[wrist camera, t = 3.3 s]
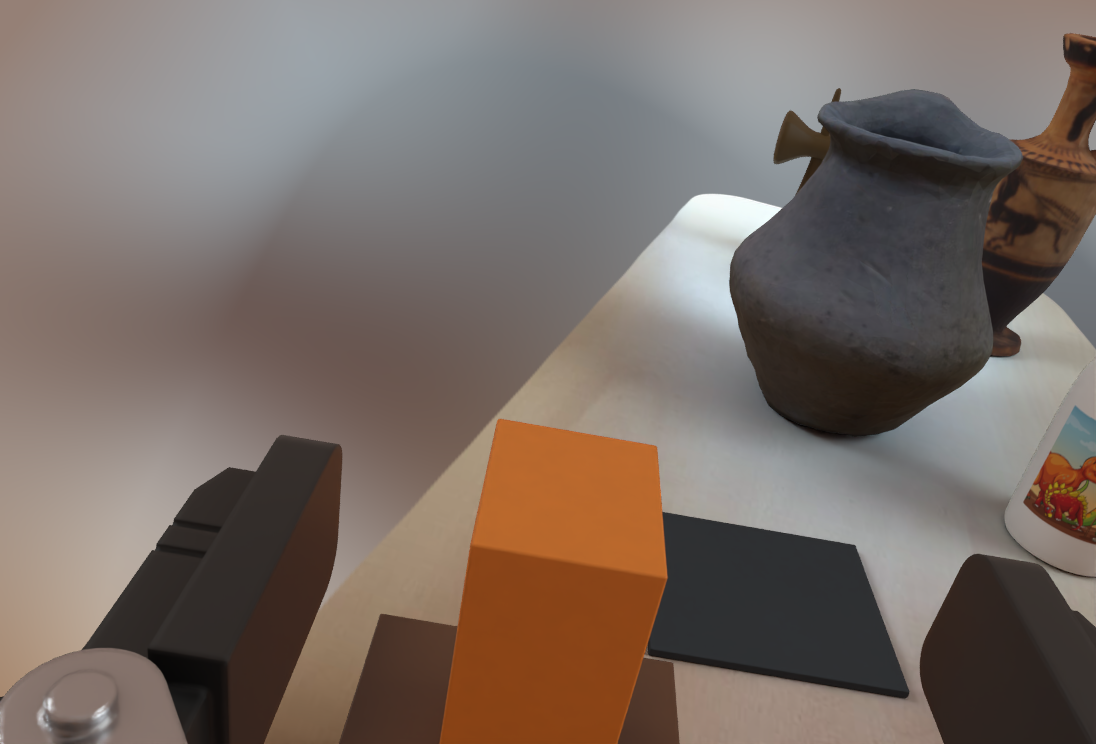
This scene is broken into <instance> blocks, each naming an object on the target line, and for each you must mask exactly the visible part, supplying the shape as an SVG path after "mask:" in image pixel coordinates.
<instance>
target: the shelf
mask: <svg viewBox="0 0 1096 744" xmlns="http://www.w3.org/2000/svg"><path fill="white" fill-rule="evenodd" d="M457 628H458V627H457V626H451V625H445V624H439V623H433V622H428V621H422V620H416V619H410V618H404V617H398V616H392V615H386V614H381V615H380V617H379V620H378V623H377V626H376V629H375V632H374V635H373V639H372V642H371V645H370V648H369V651H368V654H367V657H366V660H365V664H364V667H363V670H362V673H361V676H360V679H359V682H358V685H357V689H356V692H355V695H354V698H353V701H352V704H351V707H350V710H349V714H348V717H347V720H346V723H345V726H344V729H343V732H342V735H341V739H340V742H339V744H440V737H441V731H442V724H443V718H444V711H445V705H446V699H447V692H448V686H449V679H450V673H451V666H452V660H453V654H454V647H455V641H456V634H457ZM617 744H680V743H679V731H678V718H677V705H676V692H675V680H674V667H673V663H672V662H666V661H660V660H654V659H648V658H643V661H642V664H641V667H640V671H639V674H638V677H637V680H636V684H635V687H634V690H633V694H632V697H631V700H630V704H629V707H628V710H627V713H626V717H625V720H624V723H623V727H622V730H621V733H620V736H619V740H618V743H617Z"/></svg>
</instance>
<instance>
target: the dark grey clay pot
mask: <svg viewBox="0 0 1096 744" xmlns="http://www.w3.org/2000/svg"><path fill="white" fill-rule="evenodd" d="M818 121H819V122H820V123H821V124H822V125H823V127H824V128H825V129H826V130H827V131H828V132H829V133H830V147H829V150H828V152H827V154H826V156H825V158H824V160H823V162H822V164H821V165H820V166H819V167H818V169H817V170H816V171H815V172H814V174H813V175H812V176H811V177H810V178H809V180H808V181H807V182H806V183H805V184H804V186H803V187H802V188H801V189H800V191H799V192H798V193H797V194H796V195H795V197H794V198H793V199H792V200H791V201H790V202H789V203H788V204H787V205H786V206H785V207H784V208H782V209H781V210H780V211H779V212H778V213H777V214H776V215H774V216H773V217H772V218H771V219H770V220H769V221H768V222H766V223H765V224H764V225H762V226H761V227H760V228H758V229H757V230H756V231H755V232H753V233H752V234H751V235H749V236H748V237H747V238H746V239H745V240H744V241H743V242H742V243H741V245H740V246H739V247H738V248H737V250H736V251H735V253H734V256H733V259H732V261H731V264H730V280H729V284H730V293H731V298H732V301H733V305H734V308H735V311H736V314H737V318H738V325H739V329H740V332H741V335H742V338H743V340H744V343H745V347H746V351H747V356H748V358H749V359H750V361H751V363H752V365H753V367H754V369H755V372H756V376H757V380H758V382H759V386H760V388H761V390H762V393H763V395H764V397H765V399H766V401H767V403H768V405H769V406H770V407H771V408H772V409H774V410H775V411H776V412H777V413H779V414H780V415H782V416H783V417H785V418H787V419H789V420H792V421H794V422H796V423H798V424H801V425H804V426H808V427H811V428H814V429H818V430H821V431H825V432H832V433H840V434H846V435H852V436H866V435H873V434H879V433H883V432H886V431H890V430H893V429H895V428H897V427H899V426H900V425H902V424H903V423H904V422H906V421H907V420H909V419H910V418H912V417H913V416H915V415H916V414H918V413H919V412H920V411H922V410H923V409H925V408H926V407H927V406H929V405H930V404H932V403H934V402H935V401H937V400H939V399H940V398H942V397H944V396H946V395H948V394H949V393H951V392H953V391H954V390H956V389H958V388H959V387H961V386H962V385H963V384H965V383H966V382H967V381H968V380H970V379H971V378H972V377H973V376H975V375H976V374H977V373H978V372H979V371H980V370H981V369H982V368H983V367H984V365H985V364H986V362H987V361H988V359H989V357H990V355H991V353H992V349H993V328H992V323H991V318H990V312H989V307H988V302H987V296H986V291H985V286H984V281H983V271H982V254H983V244H984V236H985V227H986V221H987V217H988V212H989V208H990V203H991V200H992V196H993V192H994V190H995V188H996V186H997V185H998V183H999V182H1000V181H1001V180H1002V179H1003V178H1004V177H1006V176H1007V175H1008V174H1010V173H1011V172H1012V171H1014V170H1015V169H1016V168H1018V167H1019V166H1020V164H1021V162H1022V159H1023V155H1022V152H1021V150H1020V149H1019V147H1018V146H1016V145H1015V144H1014V143H1013V142H1012V141H1010V140H1009V139H1008V138H1006V137H1004V136H1003V135H1001V134H999V133H995V132H991V131H988V130H986V129H984V128H981V127H980V126H978V125H977V124H976V123H975V122H973V121H972V120H971V119H970V118H968V117H967V116H966V115H965V114H963V113H962V112H961V111H960V110H959V109H958V108H957V106H956V105H955V104H954V103H953V102H952V101H951V100H950V99H949V98H948V97H946V96H944V95H942V94H938V93H934V92H929V91H923V90H915V89H912V90H904V91H899V92H895V93H891V94H887V95H883V96H878V97H873V98H869V99H863V100H857V101H848V102H831V103H828V104H825V105H824V106H823V107H822V108H821V110H820V111H819V114H818Z"/></svg>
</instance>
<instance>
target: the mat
mask: <svg viewBox="0 0 1096 744" xmlns="http://www.w3.org/2000/svg"><path fill="white" fill-rule="evenodd" d="M662 515H663V528H664V540H665V553H666V565H667V582H666V585H665V588H664V591H663V595H662V598H661V601H660V605H659V608H658V611H657V615H656V618H655V621H654V624H653V628H652V631H651V634H650V638H649V641H648V654H649V655H652V656H658V657H664V658H670V659H676V660H682V661H688V662H694V663H700V664H706V665H712V666H718V667H723V668H729V669H735V670H741V671H747V672H753V673H759V674H765V675H771V676H777V677H783V678H789V679H795V680H801V681H807V682H813V683H819V684H825V685H831V686H836V687H842V688H848V689H854V690H860V691H866V692H872V693H878V694H884V695H890V696H896V697H902V698H907V696H908V694H909V689H908V687H907V684H906V681H905V679H904V676H903V673H902V671H901V668H900V665H899V662H898V660H897V657H896V654H895V652H894V649H893V646H892V644H891V641H890V638H889V635H888V633H887V630H886V627H885V625H884V622H883V619H882V616H881V614H880V611H879V608H878V606H877V603H876V600H875V598H874V595H873V592H872V589H871V587H870V584H869V581H868V579H867V576H866V573H865V571H864V568H863V565H862V562H861V560H860V557H859V554H858V552H857V549H856V546H855V545H851V544H845V543H840V542H834V541H828V540H822V539H816V538H811V537H805V536H799V535H793V534H787V533H781V532H776V531H770V530H764V529H758V528H752V527H746V526H741V525H735V524H729V523H723V522H717V521H712V520H706V519H700V518H694V517H688V516H682V515H677V514H671V513H665V512H662Z"/></svg>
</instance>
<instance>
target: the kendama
mask: <svg viewBox="0 0 1096 744" xmlns="http://www.w3.org/2000/svg"><path fill="white" fill-rule="evenodd" d="M840 94H841V89H840V88H839V89H837V90H836V92H835V94H834V97H833V99H832V102H839V99H840ZM829 147H830V133H829V132H828V131H827V130H826V129H825V128H824V127H823V128H822V130H821V133H819V132H815V131H813V130H812V129H810V128H809V127H808V126H807V125H806V124H805V123H804V122H803V121H802V120H801V119H800V118H799V117H798V116H797V115H796V114H795V113H794V112H793V111H789V112H788V113H787V114H786V117H785V119H784V121H783V124H782V126H781V129H780V132H779V136H778V140H777V143H776V148H775V152H774V164H780V163H784V162H787V161H789V160H793V159H796V158H799V157H812V158H811V160H810V163H809V165H808V168H807V170H806V173H805V175H804V177H803V180H802V182H801V184H800V186H799V189H798V191H797V193H798V192H799V191H800V189H801V188H802V187H803V186H804V184H805V183H806V182H807V181H808V180H809V178H810V177H811V176H812V175H813V174H814V172H815V171H816V170H817V169H818V167H819V166H820V165H821V164H822V162H823V160H824V158H825V156H826V154H827V152H828V150H829ZM797 193H796V194H797Z"/></svg>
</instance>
